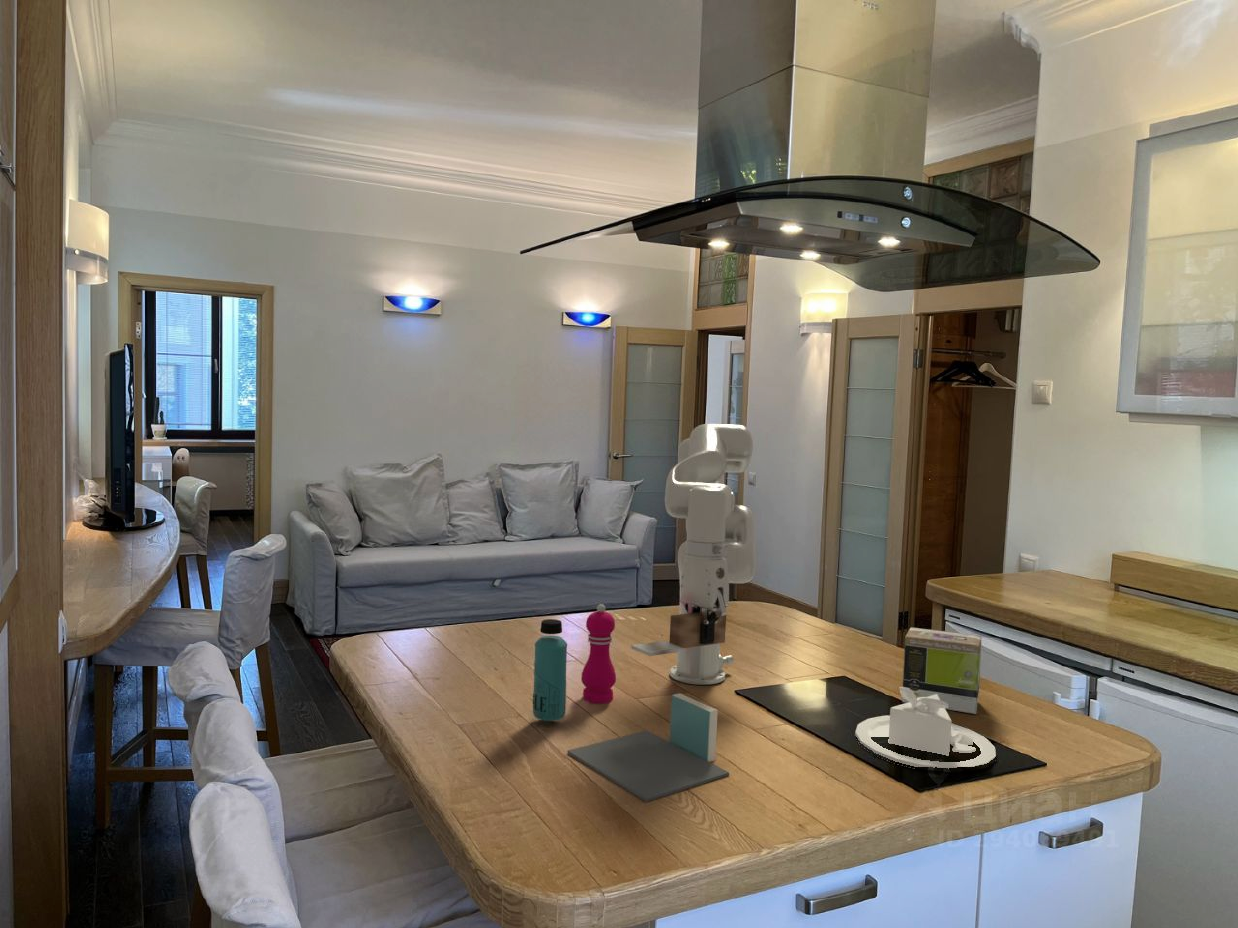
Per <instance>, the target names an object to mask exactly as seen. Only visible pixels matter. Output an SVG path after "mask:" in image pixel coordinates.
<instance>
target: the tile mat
mask: <svg viewBox="0 0 1238 928" xmlns="http://www.w3.org/2000/svg"><path fill="white" fill-rule="evenodd" d="M567 754H568V755H569V756H571V757H572V758H574V759H576V760H578V761H579V762H581V763H582V764H584V765H585V766H587V767H589V768H591V770H594V771H595V772H597V773H599V775H602V776H603V777H605V778H606V779H608V780H609V781H611V782H613V783H614V784H616V785H618V786H620V787H621V788H623V790H626V791H627V792H628V793H630V794H632V795H633V796H635V797H637V798H638V799H640V800H642V801H644V802H645V803H647V802H651V801H653V800H657V799H659V798H663V797H666V796H670V795H673V794H676V793H679V792H681V791H685V790H688V789H690V788H694V787H698V786H701V785H703V784H707V783H710V782H713V781H716V780H719V779H722V778H725V777H728V776H730V772H729V771H727V770H725V769H723V768H722V767H720V766H717V765H716V764H713V763H711V761H710V762H708V761H706V760H704V759H702V758H700V757H698V756H696V755H694V754H692V753H691V752H689V751H687V750H685V749H683V748H681V747H679V746H677V745H675V744H673V743H671V742H670V740H667V739H665V738H663V737H662V736H659V735H657V734H655V733H653V732H651V731H649V730H648V729H646V730H642V731H639V732H635V733H630V734H627V735H623V736H620V737H615V738H612V739H607V740H602V741H601V742H600V741H599V742H596V743H591V744H588V745H584V746H580V747H576V748H572V749H568V750H567Z"/></svg>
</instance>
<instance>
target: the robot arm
mask: <svg viewBox="0 0 1238 928" xmlns="http://www.w3.org/2000/svg"><path fill="white" fill-rule="evenodd" d="M753 447H754V441H753V436H752V433H751V431H750V430H749V428H748V427H746V426H745V425H741V424H729V423H728V424H722V423H704V424H700V425H698V426H696V427H695V428H693V429H692V431H691V432H690V435H689V437H688V438H686V439H683V441H681V442H680V444H679V446H678V448H677V449H678V450H677V463H676V465H674V466H673V467H672V468H671V469H670V471H669V473H668V474H667V477H666V483H665V491H664V492H665V493H664V508H665V510H666V513H667V514H668V515H669V516H670V517H673V518H674V519H675V518H676V519H677V518H678V519H685V532H686V540H685V541H684V542H682V543H681V544H680V546H679V548H678V550H677V567H678V574H679V575H678V576H679V613H678V615H679V614H688V613H696V612H703V624H701V629H700V643H701V644H708V643H713V642H714V630H715V623H717V620H718V619H719V618H720V617H722V616H724V615H726V616H727V615H728V613H727V607H728V606H729V602H730V601H729V600H730V584H747V583H749V582H751V581H752V580H753V579H754V577H755V573H756V568H757V566H756V565H757V563H756V562H757V561H756V560H757V559H756V558H757V557H756V556H757V555H756V535H755V534H756V531H755V529H756V528H755V527H756V526H755V517H754V515H753V512H752V510H751V509H750V508H749V507H748V506H745V505H740V504H735V503H736V498H735V493H734V492H733V491H732V488H731V487H730V486H729V485H727V484H724V483H717V482H718V481H719V480H721V479H722V478H723V476H724V475H725V473H729V474H730V473H734V474H737V473H744V472H745V471H747V470H748V468H749V465H750V462H751V458H752V455H753ZM709 611H711V614H710V615H709ZM720 644H721V643H718V644H711V645H704V646H697V647H690V648H684V649H683V651H682V652H677V657H676V658H677V660H676V663H677V664H676V665H674V666H672V667H670V669H669V675H670V677H671V678H672V679H674V680H675V681H677V682H681V683H685V684H690V685H698V686H699V685H700V686H701V685H703V686H705V685H716V684H719V683H722V682H723V681H724V680H725V679H726V672H725V670H723V667H724V666H726V665H731V664H733V663H734V662H735V661H734V660H735V659H734V657H733V655H731V654H730V655H726V656H722V655H721V654H720V646H721V645H720Z"/></svg>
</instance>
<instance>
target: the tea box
mask: <svg viewBox="0 0 1238 928" xmlns="http://www.w3.org/2000/svg"><path fill="white" fill-rule="evenodd" d="M981 655H982V636H981V635H977V634H968V633H960V632H953V631H946V630H937V629H927V628H919V627H912V626H911V627H910V628H909V629H908V631H907V633H906V635H905V637H904V653H903V670H902V671H903V672H902V674H903V675H902V687H905V688H909V689H910V690H911V691H913V692H914V694H915V696H916V700H917V698H919V697H928V696H932V695H935V694H937V695H938V697H939V699H940V700H941V701H944V702H946V703H947V704H948V708H945V710H949V711H954V712H955V711H957V712H961V713H967V714H972V715H976V714H977V711H978V701H979V693H980V677H981ZM901 700H902V701H901V702H902V703H904V704H905V703H908V702H909V701H907V700H906V699H904V698H903V697H902V696H901Z"/></svg>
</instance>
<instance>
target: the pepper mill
mask: <svg viewBox="0 0 1238 928" xmlns="http://www.w3.org/2000/svg"><path fill="white" fill-rule="evenodd" d="M585 627H586V630H587V631H588V633H589V634H588V635H587V637H588V639H587V641H588V642H589V655H588V659H587V661H586V663H585V665H584V667H583V669H582V672H581V678H580V679H581V683H582V684H583V686H584V687H585V688H583V690H582V691H583V692H582V693H583V694H582V698H583V700H584V701H586V702H587V703H590V704H591V703H592V704H607V703H610V702H612V701H613V700H614V690H613V689H612V687H613V686H614V685H615V684H616V682H617V676H616V671H615V668H614V665H613V662H612V660H611V656H610V646H611V643H612V642H613V640H612V639H613V635H612V634H613V633H612V632H613V631H614V630H615V628H616V621H615V617H614V616H613V615H612V614H611V613H609V612H607V611H606V606H605V605H604V604H603V603H602V604H601V603H599V604H598V605H597V606H596V611H594V612H592V613H591V614H589V615H588V617H587V619H586V624H585Z"/></svg>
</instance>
